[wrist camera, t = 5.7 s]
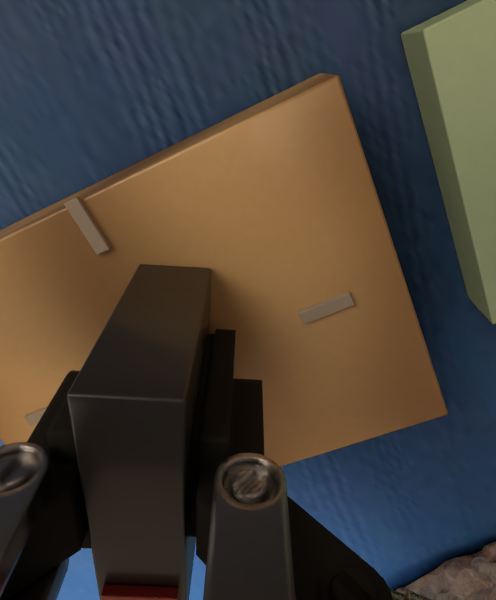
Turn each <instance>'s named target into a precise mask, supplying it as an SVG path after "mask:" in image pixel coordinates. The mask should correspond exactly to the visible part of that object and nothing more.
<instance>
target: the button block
mask: <svg viewBox="0 0 496 600" xmlns="http://www.w3.org/2000/svg"><path fill="white" fill-rule="evenodd" d="M401 39H402V43H403V47H404V50H405V54H406V58H407V62H408V66H409V70H410V74H411V78H412V82H413V85H414V89H415V93H416V97H417V101H418V105H419V109H420V113H421V117H422V120H423V124H424V128H425V132H426V136H427V140H428V144H429V148H430V152H431V155H432V159H433V163H434V167H435V171H436V175H437V179H438V183H439V186H440V190H441V194H442V198H443V202H444V206H445V210H446V214H447V218H448V221H449V225H450V229H451V233H452V237H453V241H454V245H455V249H456V253H457V256H458V260H459V264H460V268H461V272H462V276H463V280H464V284H465V288H466V291H467V295H468V298H469V299H470V300H471V301H472V302H473V303H474V304H475V306H476V307H477V308H478V309H479V310H480V311H481V312H482V313H483V314H484V315H485V316H486V318H487V319H488V320H489V321H490V322H491V323H492V324H496V0H467V1H465V2H463V3H461V4H459V5H457V6H455V7H453V8H451V9H449V10H447V11H445V12H443V13H441V14H439V15H437V16H435V17H433V18H431V19H429V20H427V21H425V22H423V23H421V24H419V25H417V26H414V27H412V28H410V29H408V30H406V31H404V32H402V33H401Z"/></svg>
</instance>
